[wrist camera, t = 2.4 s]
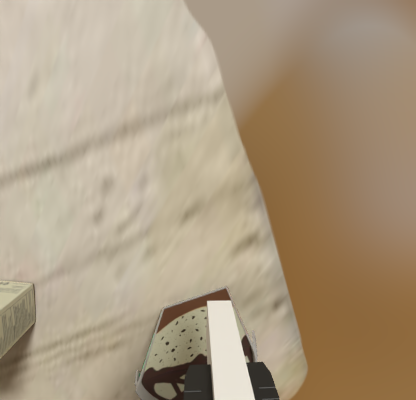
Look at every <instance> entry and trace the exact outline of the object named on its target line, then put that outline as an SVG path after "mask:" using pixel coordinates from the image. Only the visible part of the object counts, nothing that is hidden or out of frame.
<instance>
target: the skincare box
mask: <svg viewBox="0 0 416 400" xmlns="http://www.w3.org/2000/svg"><path fill="white" fill-rule="evenodd" d="M34 323H35V300H34V287H33V284H32V283H23V282H12V281H0V359H1V358H2V357H3V356H4V355H5V354H6V353H7V352H8V350H9V349H10V348H11V347H12V346H13V345H14V344H15V343H16V342H17V341H18V340H19V339H20V338H21V337H22V336H23V335H24V334H25V332H26V331H27V330H28V329H29V328H30V327H31V326H32V325H33V324H34Z"/></svg>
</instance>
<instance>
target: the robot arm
mask: <svg viewBox="0 0 416 400" xmlns="http://www.w3.org/2000/svg"><path fill="white" fill-rule="evenodd" d="M206 347H207V364H206V365H190V366H189V368H188V370H187V373H186V375H185V381H184V399H183V400H279V396H278V393H277V390H276V388H275V384H274V381H273V378H272V375H271V373H270V371H269V370H268V369H267V367H266V366H265V364H264V363H263V362H246V360H245V356H244V352H243V348H242V344H241V340H240V336H239V331H238V327H237V323H236V319H235V315H234V311H233V307H232V303H231V301H207V323H206Z"/></svg>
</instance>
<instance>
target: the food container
mask: <svg viewBox="0 0 416 400" xmlns="http://www.w3.org/2000/svg"><path fill="white" fill-rule="evenodd" d="M207 301H231V303H232V307H233V311H234V315H235V319H236V323H237V327H238V331H239V336H240V340H241V344H242V348H243V352H244V356H245V360H246V362H257V348H256V339H255V334H254V330H253V331H252V335H253V343H252V342H251V340H250V337H249V335H248V333H247V331H246V328H245V326H244V324H243V322H242V319H241V317H240V315H239V312H238V310H237V308H236V306H235V303H234V301H233V299H232V296H231V294H230V292H229V290H228V287H227V286H225V287H222V288H219V289H216V290H213V291H210V292H207V293H204V294H201V295H198V296H195V297H192V298H189V299H186V300H183V301H181V302H178V303H175V304H172V305H169V306H166V307H163V308H162V311H161V314H160V317H159V320H158V323H157V326H156V329H155V332H154V335H153V338H152V341H151V344H150V347H149V350H148V353H147V356H146V359H145V362H144V365H143V368H142V371H141V373H140V372H139V370H138V369H137V370H136V377H135V386H136V391H135V392H136V393H137V394H138V396H139V397H140V399H141V400H183V399H184V381H185V375H186V373H187V370H188V368H189V366H190V365H206V364H207V347H206V323H207Z"/></svg>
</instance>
